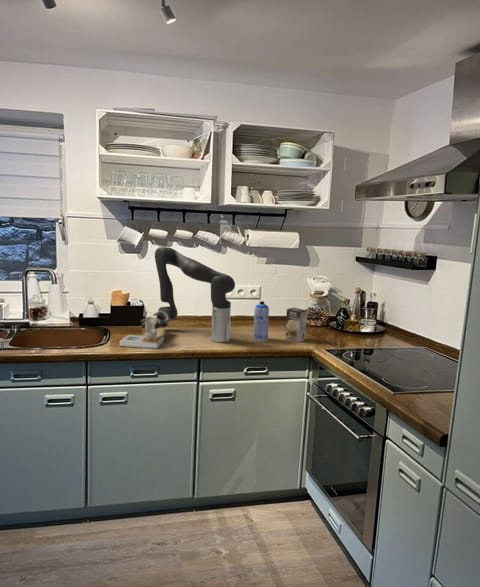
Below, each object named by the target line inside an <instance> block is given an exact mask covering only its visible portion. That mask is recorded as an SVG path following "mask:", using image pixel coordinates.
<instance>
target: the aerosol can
mask: <svg viewBox="0 0 480 587" xmlns="http://www.w3.org/2000/svg"><path fill="white" fill-rule="evenodd" d="M253 315H254V316H253V334H252V335H253V338H252V339H253V340H254V341H256V342H266V341H268V340H269V338H268V337H269V318H270V317H269V316H270V307H269V306H268V305H267V304H265V301H262V300H261V301H259V303H258V304H256V305H255V306H254V313H253Z"/></svg>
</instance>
